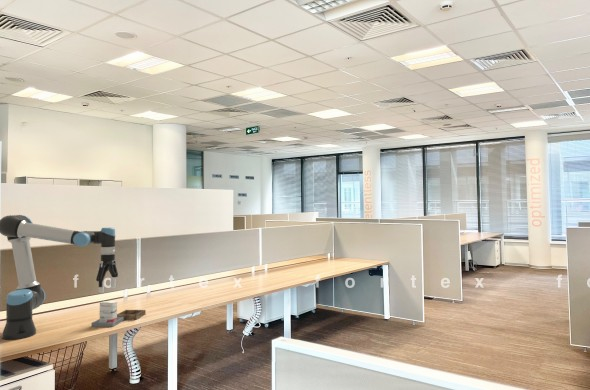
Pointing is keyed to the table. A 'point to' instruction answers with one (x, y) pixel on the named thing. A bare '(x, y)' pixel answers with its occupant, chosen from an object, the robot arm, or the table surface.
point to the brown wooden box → (132, 314)
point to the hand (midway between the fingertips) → (107, 290)
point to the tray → (98, 324)
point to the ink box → (108, 312)
